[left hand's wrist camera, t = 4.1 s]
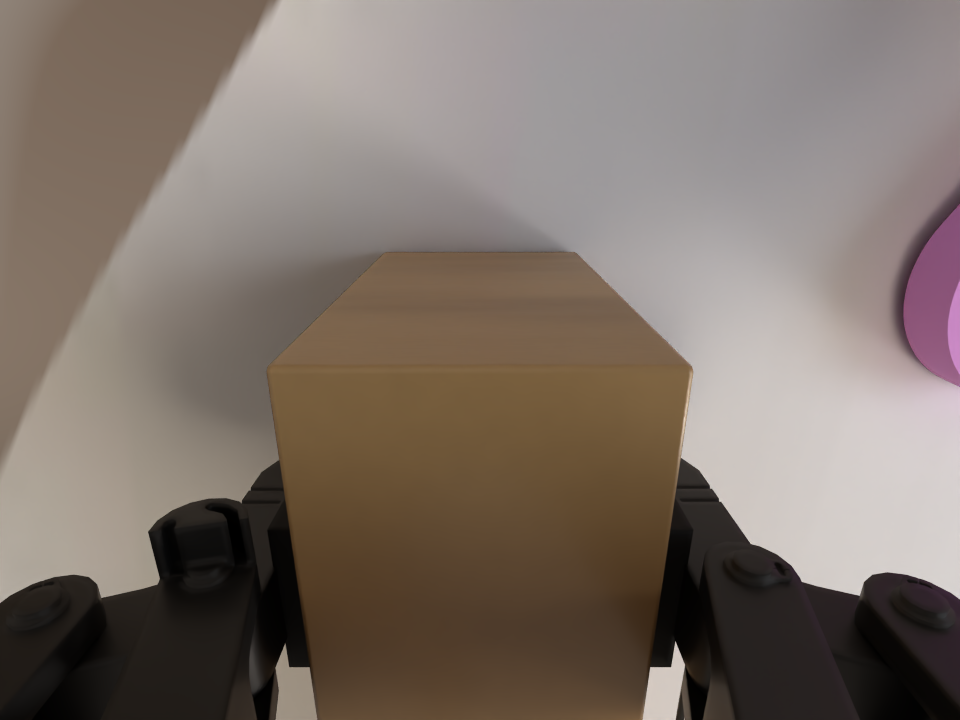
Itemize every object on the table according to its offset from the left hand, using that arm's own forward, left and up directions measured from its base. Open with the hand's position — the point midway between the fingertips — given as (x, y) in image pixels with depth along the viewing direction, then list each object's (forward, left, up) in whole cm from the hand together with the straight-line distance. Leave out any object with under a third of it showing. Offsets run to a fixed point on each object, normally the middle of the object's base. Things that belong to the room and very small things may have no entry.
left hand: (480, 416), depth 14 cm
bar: (+8, +2, -1) cm, 8 cm away
